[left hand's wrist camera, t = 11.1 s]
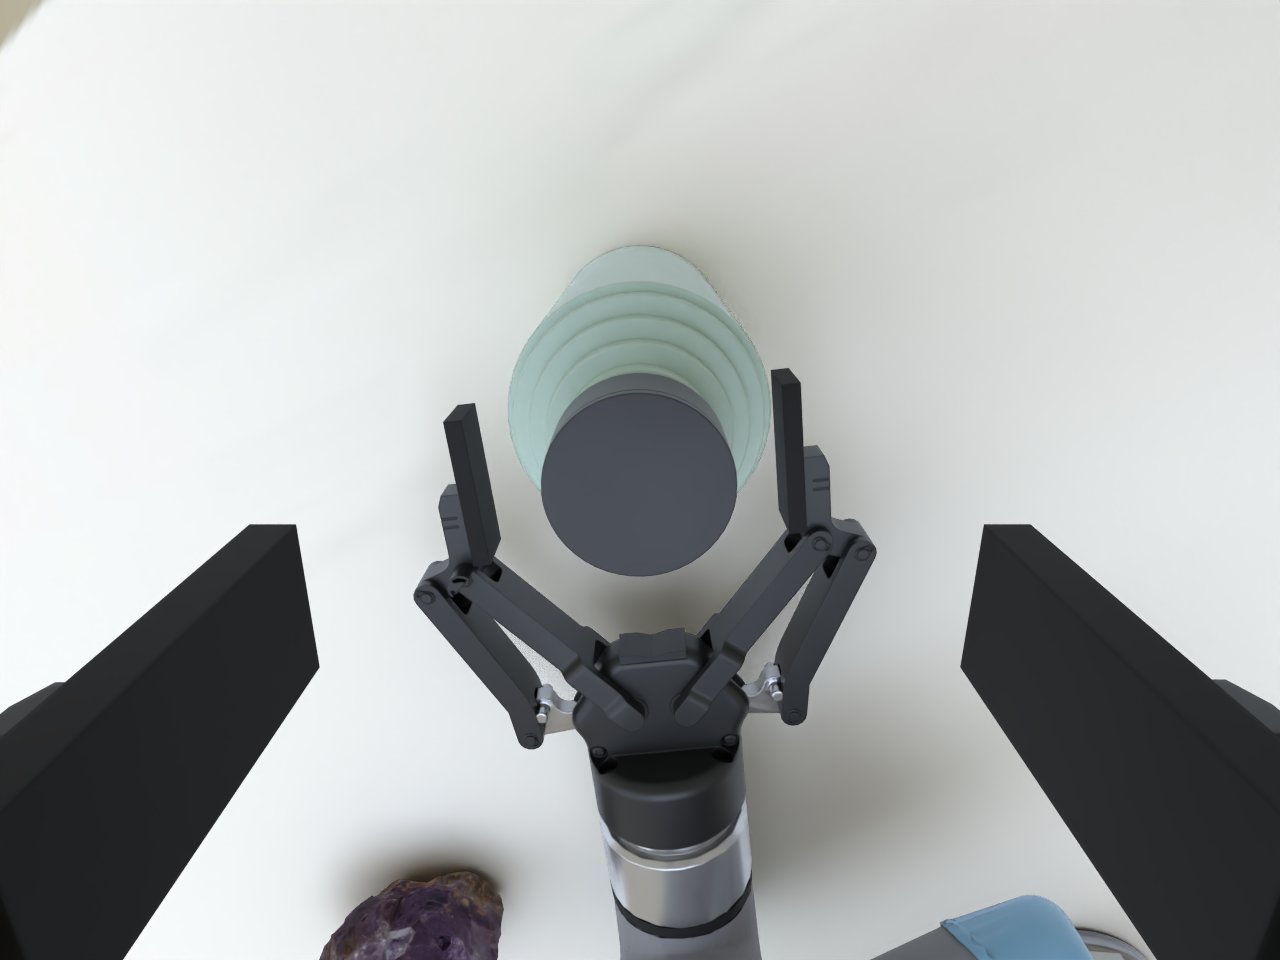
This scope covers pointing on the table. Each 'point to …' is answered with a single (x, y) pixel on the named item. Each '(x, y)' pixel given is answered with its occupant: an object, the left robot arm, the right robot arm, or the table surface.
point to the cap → (639, 476)
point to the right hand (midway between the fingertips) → (620, 393)
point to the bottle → (639, 351)
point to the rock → (423, 922)
